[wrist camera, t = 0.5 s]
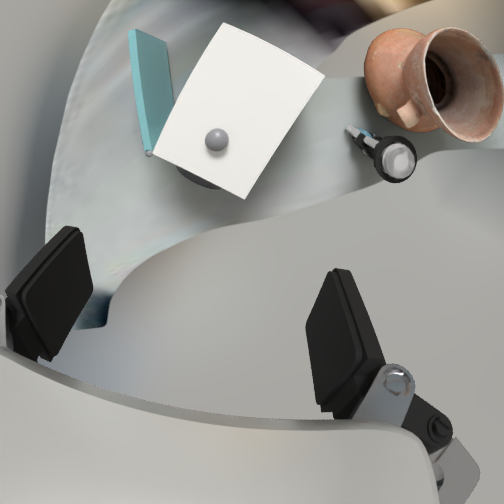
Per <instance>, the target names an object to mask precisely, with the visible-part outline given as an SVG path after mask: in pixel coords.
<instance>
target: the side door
mask: <svg viewBox="0 0 504 504" xmlns="http://www.w3.org/2000/svg"><path fill="white" fill-rule="evenodd" d="M128 39H129V50H130V60H131V69H132V77H133V85H134V92H135V99H136V106H137V112H138V118H139V124H140V129H141V135H142V140H143V145H144V151H145V155H146V156H147V157H151V156H152V155H154V154H152V153H153V150H154V148H155V146H156V143H157V141H158V139H159V137H160V134H161V132H162V130H163V128H164V126H165V124H166V121H167V119H168V117H169V115H170V113H171V111H172V109H173V107H174V102H173V95H172V88H171V80H170V72H169V63H168V54H167V45H166V42H165V41H162V40H160V39H158V38H156V37H154V36H151V35H149V34H147V33H144V32H142V31H140V30H137V29H133V30H130V31H128Z"/></svg>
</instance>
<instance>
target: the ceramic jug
mask: <svg viewBox="0 0 504 504" xmlns="http://www.w3.org/2000/svg"><path fill="white" fill-rule="evenodd" d="M364 77H365V82H366V85H367V88H368V91H369V93H370V95H371V98H372V100H373V101H374V105H375V107H376V109H377V112H378V113H379V114H380V115H382V116H384V117H386V118H388V119H389V120H390V121H391V122H392V123H394V124H395V125H397V126H399V127H401V128H403V129H405V130H408V131H412V132H429V131H432V130H435V129H437V128H439V127H440V128H441V129H443V130H444V131H445V132H447V133H448V134H450V135H451V136H453V137H455V138H457V139H459V140H462V141H465V142H480V141H483V140H485V139H487V138H488V137H489V136H490V135H491V134H492V133H493V131H494V129H495V128H496V127H497V125H498V122H499V120H500V118H501V115H502V111H503V103H504V87H503V82H502V79H501V76H500V71H499V68H498V66H497V63H496V61H495V59H494V58H493V56H492V54H491V53H490V52H489V51H488V49H487V48H486V47H485V46H484V44H483V43H482V42H481V41H480V40H479V39H478V38H477V37H475V36H474V35H472V34H471V33H469V32H467V31H465V30H463V29H460V28H454V27H445V28H441V29H438V30H435V31H433V32H431V33H429V34H428V35H426V36H425V35H423V34H422V33H419V32H417V31H414V30H410V29H392V30H388V31H386V32H384V33H382V34H380V35H379V36H378V37H377V38H376V39H374V40H373V41H372V43H371V45H370V46H369V48H368V51H367V55H366V58H365V62H364Z"/></svg>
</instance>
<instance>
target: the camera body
mask: <svg viewBox="0 0 504 504" xmlns="http://www.w3.org/2000/svg"><path fill="white" fill-rule="evenodd" d="M324 77H325V76H324V75H323V74H321V73H320V72H318V71H317V70H315V69H314V68H312V67H310V66H309V65H307V64H305V63H304V62H302V61H300V60H299V59H297V58H295V57H294V56H292V55H290V54H288V53H287V52H285V51H283V50H281V49H279V48H277V47H276V46H274V45H272V44H270V43H268V42H266V41H264V40H262V39H260V38H258V37H256V36H254V35H251V34H249V33H247V32H245V31H243V30H240V29H238V28H236V27H233V26H231V25H229V24H226V23H224V22H223V24H222V25H221V27H220V28H219V30H218V31H217V33H216V34H215V36H214V37H213V39H212V40H211V42H210V43H209V45H208V46H207V48H206V50H205V51H204V53H203V55H202V56H201V58H200V60H199V61H198V63H197V65H196V66H195V68H194V70H193V72H192V73H191V75H190V77H189V79H188V80H187V82H186V84H185V86H184V88H183V90H182V92H181V93H180V95H179V97H178V99H177V101H176V103H175V105H174V107H173V109H172V111H171V113H170V115H169V117H168V119H167V121H166V124H165V126H164V128H163V130H162V132H161V134H160V137H159V139H158V141H157V143H156V146H155V148H154V150H153V153H152V154H154V155H156V156H158V157H161V158H163V159H165V160H167V161H169V162H171V163H173V164H175V165H176V166H177V169H178V170H179V172H180V173H181V174H182V175H184V176H185V177H186V178H188V179H189V180H191V181H193V182H195V183H197V184H199V185H201V186H204V187H207V188H211V189H222V188H223V189H225V190H227V191H229V192H231V193H233V194H235V195H237V196H239V197H241V198H242V199H244V200H245V198H246V196H247V195H248V193H249V192H250V190H251V188H252V187H253V185H254V184H255V182H256V180H257V179H258V177H259V176H260V174H261V172H262V171H263V169H264V168H265V166H266V164H267V163H268V161H269V160H270V158H271V157H272V155H273V153H274V152H275V150H276V149H277V147H278V146H279V144H280V143H281V141H282V140H283V138H284V136H285V135H286V133H287V132H288V130H289V129H290V127H291V126H292V124H293V123H294V121H295V120H296V118H297V117H298V115H299V114H300V112H301V111H302V109H303V108H304V106H305V105H306V103H307V102H308V100H309V99H310V97H311V96H312V94H313V93H314V91H315V90H316V89H317V87H318V86H319V84H320V83H321V81H322V80H323V78H324Z"/></svg>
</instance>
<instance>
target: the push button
mask: <svg viewBox="0 0 504 504" xmlns="http://www.w3.org/2000/svg"><path fill="white" fill-rule="evenodd" d="M345 129H347V130H348V131H349V132H350V133H351V135H352V136H353V137H352V138H353V139H354V141H353V142H355V143H356V144H357V145H359V146H360V147H361V148H363V149H364V150H363V151H362V150H361V149H360V150H361V151H362V152H363V153H364V154H366V155H367V156H369V157H370V158H372V159H373V160H374V167H375V168H376V170H377V172H378V174H379V175H380V176H381V177H382V178H383V179H384V180H386V181H388V182H391V183H400V182H403V181H405V180H406V179H408V178H409V177H410V176H411V175H412V173H413V172H414V170H415V167H416V163H417V155H416V151H415V148H414V146H413V145H412V143H411V142H410V141H409V140H407V139H406V138H404V137H401V136H387V137H384V138H381V137H379V136H376V135H375V134H373V133H372V134H373V135H374V137H372V136H371V135H370V134H369V133H368V132H367V131H365V130H362V129H360V128H359V129H356V128H354V127H353V126H352V125H349V124H348V125H347V126H346V128H345ZM350 129H351V130H350ZM395 142H401V143H402V144H400V143H395ZM382 168H383V169H384V170H385V172H386V173H384V171H383V170H382Z"/></svg>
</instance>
